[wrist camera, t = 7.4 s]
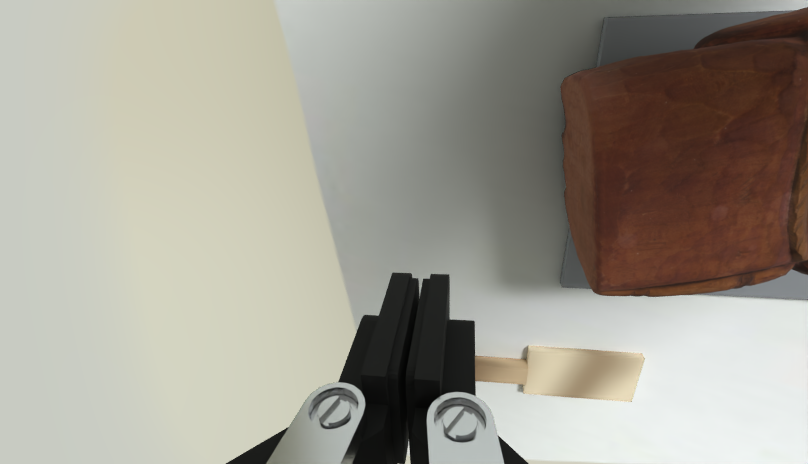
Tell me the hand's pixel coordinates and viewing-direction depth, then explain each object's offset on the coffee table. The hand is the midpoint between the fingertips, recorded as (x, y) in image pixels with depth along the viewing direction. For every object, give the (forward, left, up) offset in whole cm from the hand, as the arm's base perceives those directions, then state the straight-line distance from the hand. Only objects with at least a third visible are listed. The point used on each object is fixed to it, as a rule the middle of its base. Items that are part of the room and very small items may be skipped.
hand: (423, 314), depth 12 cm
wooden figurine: (0, +7, -11) cm, 13 cm away
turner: (+16, +6, -15) cm, 23 cm away
